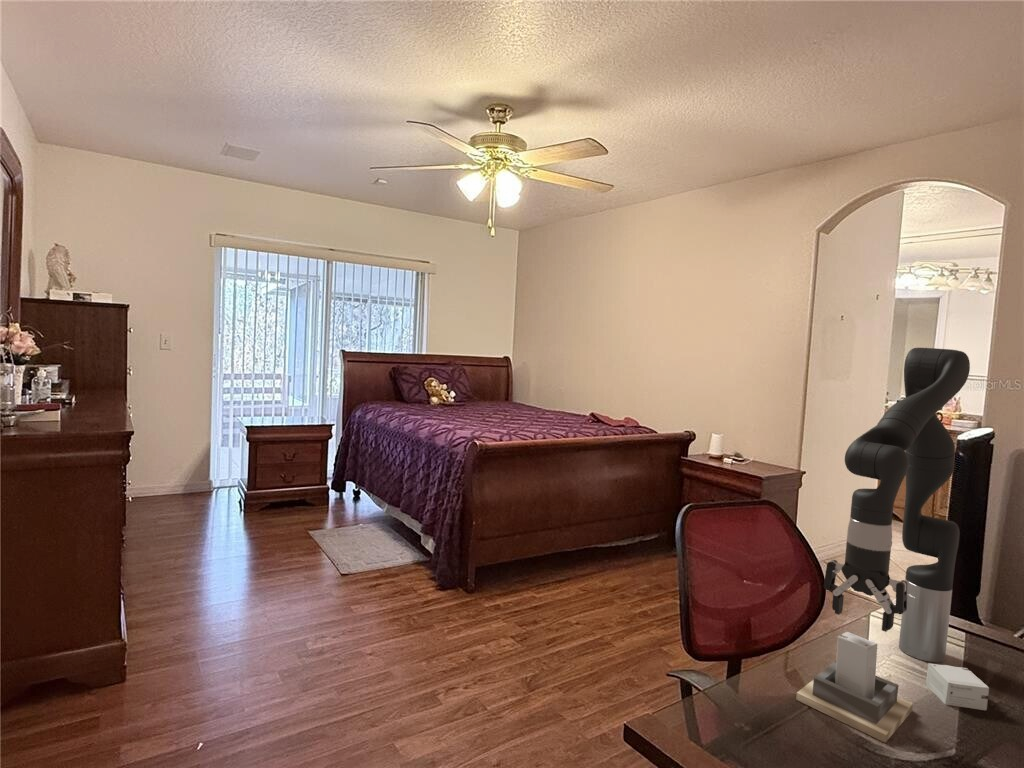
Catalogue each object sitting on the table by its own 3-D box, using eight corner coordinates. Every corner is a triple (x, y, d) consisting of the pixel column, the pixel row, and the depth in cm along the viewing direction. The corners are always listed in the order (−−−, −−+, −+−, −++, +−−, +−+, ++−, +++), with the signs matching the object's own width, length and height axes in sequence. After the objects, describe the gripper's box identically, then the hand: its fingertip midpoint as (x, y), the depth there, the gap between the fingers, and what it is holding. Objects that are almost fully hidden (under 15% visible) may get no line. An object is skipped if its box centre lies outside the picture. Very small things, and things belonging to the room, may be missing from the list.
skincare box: (874, 701, 116) (880, 643, 116) (864, 708, 114) (870, 649, 113) (842, 686, 121) (847, 630, 121) (832, 692, 119) (837, 635, 118)
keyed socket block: (827, 674, 129) (829, 652, 128) (912, 710, 116) (914, 686, 116) (796, 699, 118) (798, 676, 118) (885, 742, 106) (887, 716, 106)
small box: (945, 706, 119) (947, 682, 119) (924, 684, 127) (927, 661, 127) (987, 712, 118) (990, 687, 118) (964, 689, 126) (967, 667, 125)
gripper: (823, 535, 118) (816, 613, 119) (904, 557, 107) (896, 642, 108) (837, 529, 123) (831, 603, 124) (916, 549, 112) (908, 630, 113)
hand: (861, 621), depth 116 cm, fingers open, 8 cm apart
